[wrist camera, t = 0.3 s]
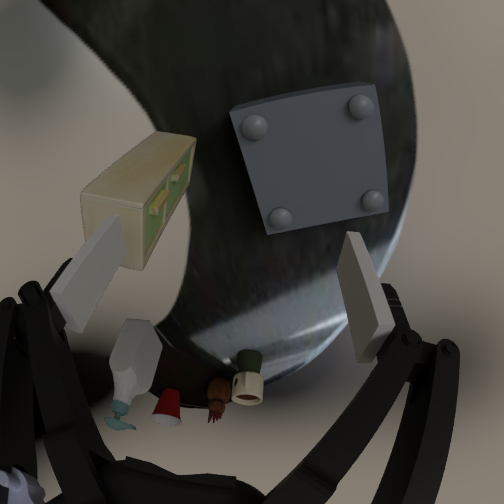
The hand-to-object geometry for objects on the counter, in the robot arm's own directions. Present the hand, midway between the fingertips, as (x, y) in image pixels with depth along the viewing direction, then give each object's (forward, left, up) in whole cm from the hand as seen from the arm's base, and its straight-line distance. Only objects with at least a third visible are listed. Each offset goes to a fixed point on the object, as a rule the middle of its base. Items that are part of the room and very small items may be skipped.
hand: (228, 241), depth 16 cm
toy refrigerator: (+1, -13, -28) cm, 30 cm away
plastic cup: (+72, -49, -28) cm, 91 cm away
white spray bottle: (+39, -39, -28) cm, 61 cm away
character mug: (+51, -15, -28) cm, 60 cm away
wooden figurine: (+64, -28, -28) cm, 75 cm away
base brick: (+5, +7, -28) cm, 29 cm away
